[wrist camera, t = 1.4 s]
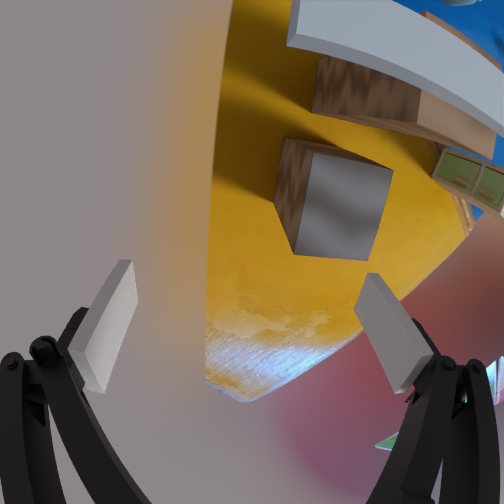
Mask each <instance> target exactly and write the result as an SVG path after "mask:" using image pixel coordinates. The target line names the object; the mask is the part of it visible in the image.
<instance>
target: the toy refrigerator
mask: <svg viewBox="0 0 504 504" xmlns="http://www.w3.org/2000/svg"><path fill="white" fill-rule="evenodd" d="M431 178H432V179H433V180H434V181H436V182H437V183H438V184H439V185H441V186H442V187H443V188H444V189H446V190H447V191H448V192H450V193H452V194H454V195H456V196H458V197H460V198H462V199H464V200H465V201H467V202H469V203H471V204H473V205H474V206H476V207H478V208H479V209H481V210H483V211H485V212H487V213H488V214H490V215H491V216H493V217H495V218H496V219H498V220H499V221H501V222H502V223H504V168H503V167H501V166H498V165H496V164H493V163H491V162H488V161H485V160H483V159H480V158H477V157H474V156H471V155H468V154H465V153H462V152H459V151H456V150H452V149H449V148H445V147H444V148H443V151H442V153H441V155H440V158H439V160H438V162H437V164H436V167H435V169H434V171H433V173H432V175H431Z"/></svg>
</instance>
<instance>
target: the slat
mask: <svg viewBox="0 0 504 504" xmlns="http://www.w3.org/2000/svg"><path fill="white" fill-rule="evenodd" d="M286 46H289V47H294V48H299V49H304V50H309V51H313V52H317V53H321V54H325V55H329V56H333V57H336V58H340V59H343V60H347V61H350V62H353V63H356V64H360V65H363V66H366V67H368V68H371V69H374V70H377V71H380V72H382V73H385V74H388V75H390V76H393V77H395V78H398V79H400V80H402V81H405V82H407V83H409V84H412V85H414V86H416V87H418V88H420V89H422V90H424V91H427V92H429V93H431V94H433V95H435V96H437V97H439V98H440V99H442V100H444V101H446V102H448V103H450V104H452V105H453V106H455V107H457V108H459V109H460V110H462V111H464V112H465V113H467V114H469V115H470V116H472V117H474V118H475V119H477V120H478V121H480V122H481V123H483V124H485V125H486V126H488V127H489V128H490V129H492V130H493V131H495V132H496V133H498V134H499V135H500V136H502V137H503V138H504V74H503V73H502V72H501V71H500V70H499V69H498V68H497V67H495V66H494V65H493V64H492V63H491V62H489V61H488V60H487V59H486V58H485V57H483V56H482V55H481V54H479V53H478V52H477V51H476V50H474V49H473V48H472V47H470V46H469V45H467V44H466V43H465V42H463V41H462V40H460V39H459V38H458V37H456V36H455V35H453V34H452V33H450V32H448V31H447V30H445V29H444V28H442V27H441V26H439V25H437V24H436V23H434V22H432V21H430V20H429V19H427V18H425V17H423V16H422V15H420V14H418V13H416V12H414V11H412V10H410V9H408V8H406V7H404V6H402V5H400V4H398V3H396V2H394V1H392V0H292V6H291V14H290V21H289V28H288V35H287V42H286Z"/></svg>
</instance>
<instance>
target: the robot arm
mask: <svg viewBox="0 0 504 504" xmlns="http://www.w3.org/2000/svg"><path fill="white" fill-rule="evenodd" d="M439 1H441V2H442V3H445V4H447V5H452V6H462V5H469V4H473V3H475V2H476V1H481V0H439ZM137 303H138V296H137V289H136V283H135V277H134V269H133V262H132V260H121V259H120V260H119V261H118V263H117V264H116V266H115V268H114V269H113V270H112V272H111V273H110V275H109V277H108V278H107V280H106V281H105V283H104V285H103V286H102V288H101V290H100V291H99V293H98V295H97V296H96V298H95V300H94V301H93V303H92V305H91V306H90V308H84V307H81V308H80V309H79V310H77V311H76V312H75V313H74V314H73V316H72V317H71V319H70V321H69V323H68V324H67V326H66V329H64V331H63V333H62V335H61V336H60V338H59V340H58V342H56V340H55V339H54V338H53V337H51V336H41V337H39V338H37V339H35V340H34V341H33V342H32V344H31V346H30V350H29V352H30V354H31V356H32V358H33V360H24V359H23V357H22V356H21V354H19V353H17V352H11V353H8V354H7V355H5V356H4V358H3V359H2V361H1V364H0V479H1V485H2V491H3V497H4V502H5V504H66V501H65V497H64V494H63V490H62V486H61V482H60V479H59V474H58V470H57V465H56V460H55V455H54V449H53V443H52V437H51V430H50V420H49V410H48V404H49V407H50V410H51V413H52V416H53V418H54V421H55V424H56V426H57V429H58V431H59V434H60V436H61V439H62V441H63V443H64V446H65V448H66V450H67V452H68V455H69V457H70V459H71V461H72V463H73V465H74V467H75V469H76V471H77V473H78V475H79V476H80V479H81V480H82V482H83V484H84V486H85V487H86V489H87V491H88V493H89V494H90V496H91V498H92V499H93V501H94V502H95V504H152V503H151V502H150V501H149V500H148V498H147V497H146V496H145V495H144V493H143V492H142V491H141V489H140V488H139V487H138V485H137V484H136V483H135V481H134V480H133V478H132V477H131V475H130V474H129V472H128V471H127V469H126V468H125V467H124V465H123V464H122V462H121V460H120V459H119V457H118V456H117V454H116V452H115V451H114V449H113V447H112V446H111V444H110V442H109V441H108V439H107V437H106V435H105V434H104V432H103V430H102V428H101V426H100V424H99V422H98V421H97V419H96V417H95V415H94V413H93V411H92V409H91V407H90V405H89V403H88V400H87V398H86V396H85V394H84V392H83V387H84V384H86V386H87V387H88V389H89V391H93V392H98V393H102V394H104V393H105V390H106V387H107V384H108V381H109V378H110V375H111V372H112V369H113V366H114V363H115V360H116V358H117V355H118V352H119V349H120V346H121V344H122V341H123V339H124V336H125V333H126V331H127V328H128V325H129V323H130V320H131V318H132V316H133V313H134V311H135V308H136V306H137ZM354 311H355V312H356V314H357V316H358V318H359V320H360V322H361V324H362V326H363V328H364V330H365V332H366V334H367V336H368V338H369V340H370V342H371V344H372V346H373V348H374V350H375V352H376V354H377V356H378V359H379V360H380V363H381V365H382V367H383V369H384V371H385V373H386V376H387V378H388V380H389V382H390V384H391V387H392V389H393V391H394V393H395V394H397V393H402V392H407V391H408V389H409V388H410V387H411V385H412V384H413V385H414V387H415V390H414V391H413V392H412V393H411V395H410V396H409V397H408V398H407V399H406V401H405V402H406V403H407V402H408V401H409V400H410V402H409V405H408V408H407V411H406V414H405V417H404V420H403V423H402V426H401V428H400V431H399V434H398V436H397V439H396V441H395V444H394V446H393V449H392V451H391V453H390V456H389V458H388V460H387V463H386V465H385V467H384V469H383V471H382V473H381V476H380V478H379V480H378V482H377V484H376V486H375V488H374V489H373V491H372V493H371V495H370V497H369V499H368V501H367V502H366V504H435V501H434V500H433V499H431V493H432V490H433V487H434V484H435V481H436V478H437V475H438V472H439V469H440V465H441V462H442V458H443V467H442V479H441V489H440V497H439V504H499V500H500V456H499V442H498V433H497V424H496V417H495V411H494V405H493V400H492V394H491V389H490V385H489V380H488V376H487V372H486V369H485V366H484V365H483V364H482V362H481V361H479V360H477V359H471V360H469V361H468V363H467V364H466V365H465V366H464V365H456V363H455V361H454V360H453V359H452V358H450V357H448V356H445V355H444V356H441V354H440V352H439V351H438V349H437V348H436V347H435V345H434V343H433V342H432V340H431V339H430V337H429V336H428V334H427V333H426V332H425V330H424V328H423V327H422V325H421V324H420V323H419V322H418V321H416V320H415V319H414V318H410V317H409V315H408V314H407V312H406V311H405V309H404V308H403V306H402V305H401V304H400V302H399V301H398V299H397V298H396V297H395V295H394V294H393V293H392V291H391V290H390V288H389V287H388V286H387V284H386V283H385V282H384V280H383V279H382V278H381V276H380V275H379V274H378V273H367V275H366V278H365V281H364V284H363V287H362V290H361V292H360V295H359V298H358V301H357V303H356V306H355V309H354ZM466 397H467V402H466V403H465V398H466Z"/></svg>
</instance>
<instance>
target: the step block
mask: <svg viewBox="0 0 504 504" xmlns="http://www.w3.org/2000/svg"><path fill="white" fill-rule="evenodd" d="M393 171H394V170H392V169H390V168H387V167H385V166H383V165H381V164H379V163H376V162H374V161H372V160H370V159H367V158H365V157H363V156H360V155H358V154H355V153H353V152H350V151H348V150H345V149H343V148H340V147H337V146H332V145H327V144H322V143H317V142H312V141H306V140H301V139H295V138H288V137H284V138H283V145H282V151H281V158H280V164H279V171H278V177H277V183H276V190H275V196H274V202H273V203H274V206H275V208H276V211H277V213H278V216H279V218H280V221H281V223H282V226H283V228H284V231H285V233H286V236H287V239H288V241H289V244H290V246H291V249H292V251H293V254H294V255H303V256H315V257H327V258H339V259H350V260H362V261H368V258H369V255H370V252H371V249H372V246H373V243H374V240H375V237H376V234H377V230H378V227H379V224H380V220H381V217H382V213H383V210H384V206H385V203H386V199H387V195H388V191H389V187H390V184H391V179H392V175H393Z"/></svg>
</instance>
